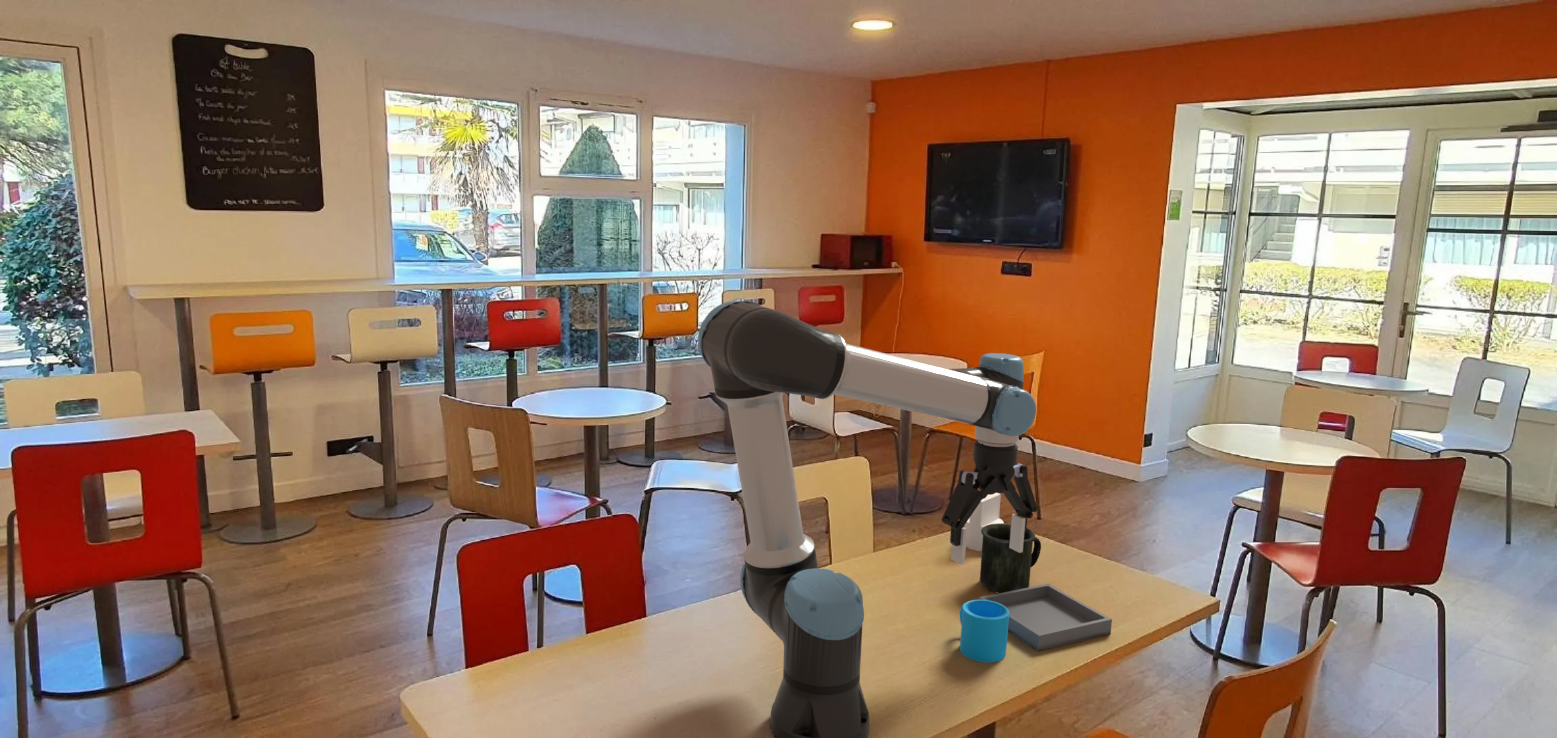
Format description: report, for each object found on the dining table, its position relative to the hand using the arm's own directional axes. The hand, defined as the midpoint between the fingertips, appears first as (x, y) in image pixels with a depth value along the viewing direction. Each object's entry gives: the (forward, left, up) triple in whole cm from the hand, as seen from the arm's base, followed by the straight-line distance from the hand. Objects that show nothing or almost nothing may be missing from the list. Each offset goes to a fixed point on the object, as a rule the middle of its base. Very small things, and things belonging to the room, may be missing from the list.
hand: (987, 555), depth 166 cm
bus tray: (+17, +3, -17) cm, 24 cm away
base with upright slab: (+32, +41, -17) cm, 55 cm away
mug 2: (+23, +20, -17) cm, 35 cm away
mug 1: (-1, 0, -17) cm, 18 cm away
